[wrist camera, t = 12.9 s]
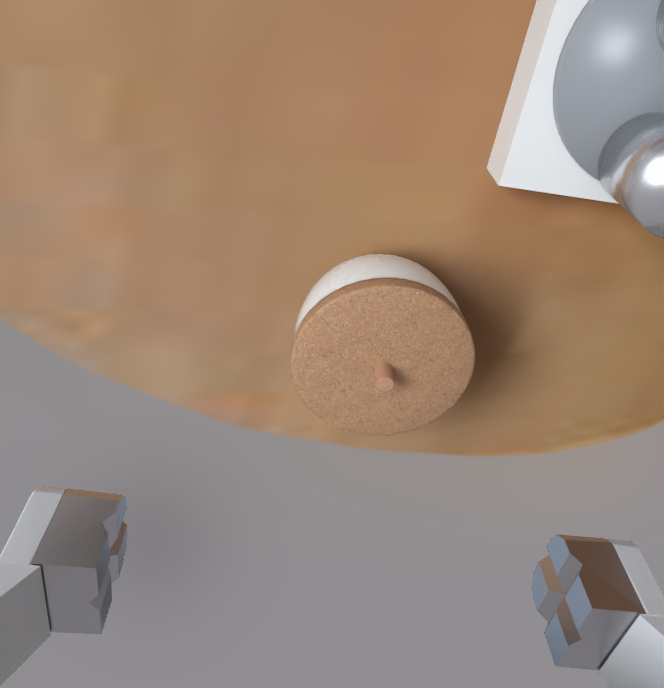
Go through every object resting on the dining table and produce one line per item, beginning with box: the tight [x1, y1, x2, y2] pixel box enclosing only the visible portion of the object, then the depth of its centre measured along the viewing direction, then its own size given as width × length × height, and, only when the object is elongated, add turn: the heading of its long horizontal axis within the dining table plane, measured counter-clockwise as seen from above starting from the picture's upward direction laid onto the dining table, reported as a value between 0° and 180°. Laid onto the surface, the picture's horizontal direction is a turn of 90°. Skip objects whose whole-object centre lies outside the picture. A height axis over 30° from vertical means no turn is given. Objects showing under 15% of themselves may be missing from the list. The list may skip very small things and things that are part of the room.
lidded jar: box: [290, 254, 475, 436], centre depth 39 cm, size 11×11×9 cm
